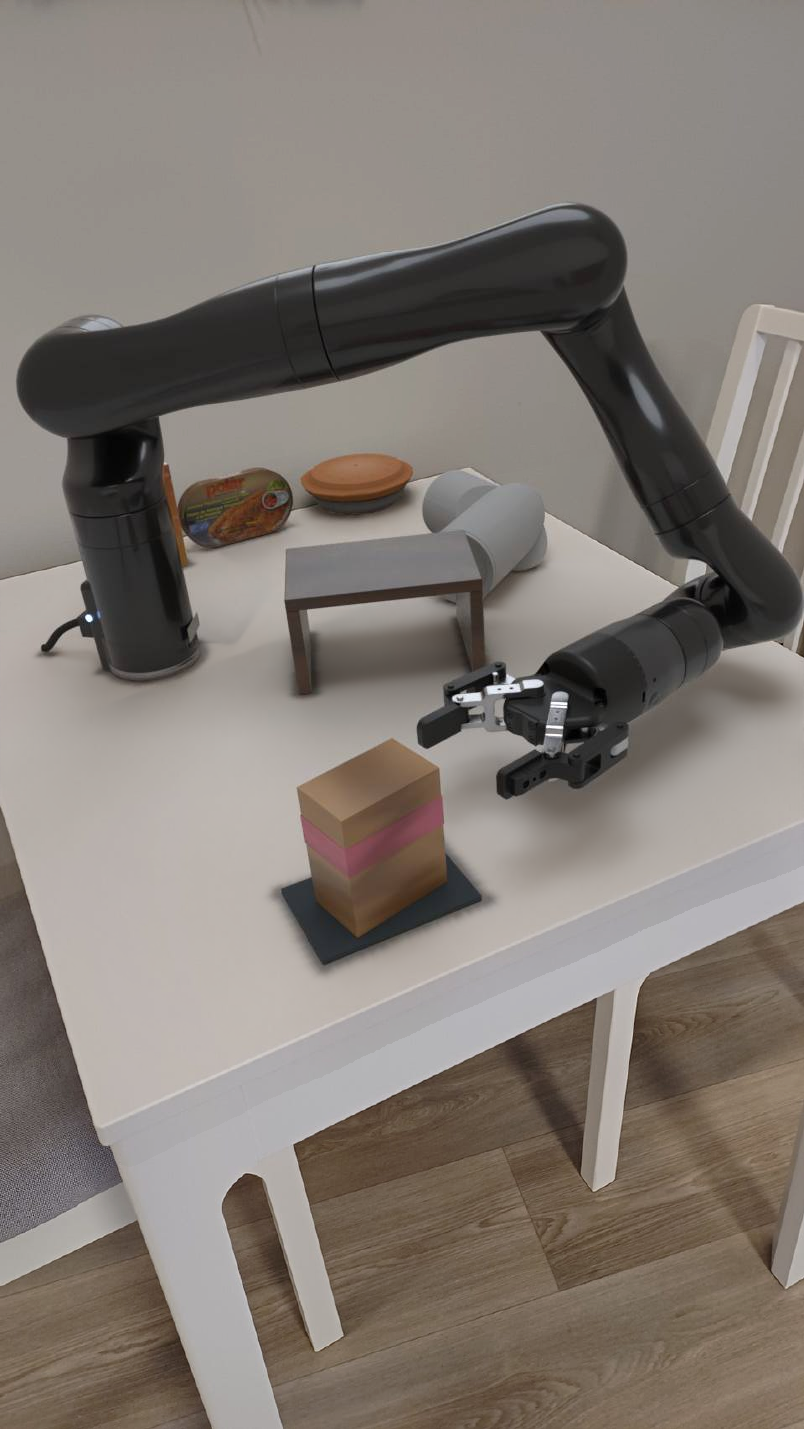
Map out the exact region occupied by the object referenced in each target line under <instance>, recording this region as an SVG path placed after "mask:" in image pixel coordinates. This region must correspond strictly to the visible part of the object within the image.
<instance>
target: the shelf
mask: <svg viewBox="0 0 804 1429" xmlns="http://www.w3.org/2000/svg"><path fill="white" fill-rule="evenodd" d="M284 569H285V571H284V600H283V601H284V606H285V613H286V621H287V626H288V633H289V639H290V640H289V641H290V646H291V652H292V658H293V664H294V665H293V666H294V672H295V677H296V683H297V685H296V686H297V691H298V695H308V694H312V643H311V642H312V641H311V640H312V639H311V629H310V622H309V614H308V611H309V610H315V609H317V610H318V609H327V608H334V607H343V606H344V607H345V606H354V605H364V604H371V603H380V602H381V603H382V602H389V601H390V602H391V601H399V600H409V599H417V598H427V597H436V596H437V597H438V596H441V595H446V594H455V593H456V603H455V606H456V620H457V624H458V627H459V630H460V634H461V637H462V640H463V644H464V647H465V650H466V654H467V658H468V661H469V664H470V667H471V670H472V671H471V672H473V671H475V670H478V669H480V668H482V667H484V666H487V665H486V642H485V641H486V640H485V639H486V638H485V614H484V612H485V611H484V598H483V591H482V590H483V584H482V577H481V574H480V572H479V569H478V566H477V564H476V561H475V558H474V556H473V553H472V550H471V547H470V545H469V542H468V539H467V537H466V534H465V531H464V530H457V531H448V532H438V533H432V532H430V533H421V534H412V535H411V534H410V535H403V536H401V535H400V536H393V537H392V536H391V537H383V538H373V539H366V540H365V539H364V540H356V541H346V542H336V543H327V544H318V545H308V546H299V547H289V548H285V568H284Z"/></svg>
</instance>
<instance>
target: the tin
mask: <svg viewBox="0 0 804 1429" xmlns="http://www.w3.org/2000/svg"><path fill="white" fill-rule="evenodd" d="M293 506H294V496H293V491H292V488H291V486H290V484H289V482H288V480H286V479H285V477H284V476H282V475H281V474H280V473H278V472H276V471H273V470H271V469H268V468H265V467H251V468H247V469H244V470H239V471H235V472H231V473H228V474H223V475H220V476H216V477H211V478H207V479H203V480H199V481H197V482H194V483H192V484H191V485H190V486H188V487H187V488H186V489H185V490H184V492H183V493H182V494H181V496H180V498H179V500H178V503H177V509H178V514H179V519H180V524H181V529H182V532H184V533H185V534H186V536H187V537H188V538H189V539H190V540H191V541H192V542H193V543H194V544H196V545H197V546H201V547H203V548H209V549H214V548H215V549H216V548H220V547H224V546H227V545H231V544H235V543H238V542H241V541H246V540H249V539H253V538H257V537H260V536H264V535H268V534H271V533H273V532H276V531H277V530H279V529H280V528H282V527H283V526H284V524H285V523H287V521H288V519H289V518H290V516H291V514H292V511H293Z"/></svg>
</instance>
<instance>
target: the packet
mask: <svg viewBox="0 0 804 1429" xmlns="http://www.w3.org/2000/svg"><path fill="white" fill-rule="evenodd" d="M296 794H297V798H298V805H299V811H300V816H299V817H300V822H301V829H302V835H303V840H304V844H305V846H306V851H307V852H306V853H307V858H308V864H309V869H310V875H311V877H312V882H313V888H314V894H315V900H316V901H317V902H318V903H319V904H320V905H321V906H322V907H323V908H324V909H326V910H327V911H328V912H329V913H330V914H331V915H332V916H333V917H335V918H336V919H337V920H338V921H339V922H340V923H341V924H342V925H344V926H345V927H346V928H347V929H348V930H349V931H350V932H351V933H353V934H354V935H355V936H356V937H357V938H359V937H360V936H362V935H364V934H365V933H367V932H368V931H370V930H372V929H373V928H375V927H376V926H378V925H379V924H381V923H383V922H384V921H386V920H387V919H389V918H391V917H392V916H394V915H395V914H397V913H399V912H400V911H402V910H403V909H405V908H406V907H408V906H410V905H411V904H413V903H414V902H416V901H418V900H419V899H421V898H422V897H424V896H425V895H427V894H429V893H430V892H432V891H433V890H435V889H437V888H438V887H440V886H441V885H443V884H445V883H446V882H447V870H446V856H445V853H446V844H445V843H446V842H445V831H444V824H445V816H444V802H443V795H442V788H441V775H440V767H438V766H437V765H436V764H434V763H432V762H431V761H429V760H428V759H426V758H425V757H423V756H421V755H420V754H418V753H417V752H415V751H414V750H412V749H410V748H409V747H407V746H406V745H404V744H403V743H401V742H399V741H397V740H396V739H395V738H393V737H391V738H389V739H387V740H385V741H384V742H381V743H379V744H378V745H375V746H374V747H371V748H370V749H368V750H366V751H364V752H362V753H360V754H358V755H356V756H354V757H353V758H350V759H349V760H347V761H344V762H343V763H340V764H338V765H337V766H334V767H333V768H331V769H329V770H327V771H325V772H323V773H321V774H320V775H318V776H315V777H314V778H312V779H310V780H307V781H306V782H304V783H302V784H300V785H297V786H296Z"/></svg>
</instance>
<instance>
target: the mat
mask: <svg viewBox="0 0 804 1429" xmlns="http://www.w3.org/2000/svg"><path fill="white" fill-rule="evenodd" d="M445 856H446V870H447V882H446V883H445V884H443V885H441V886H440V887H438V888H437V889H435V890H433V891H432V892H430V893H429V894H427V895H425V896H424V897H422V898H421V899H419V900H418V901H416V902H414V903H413V904H411V905H410V906H408V907H406V908H405V909H403V910H402V911H400V912H399V913H397V914H395V915H394V916H392V917H391V918H389V919H387V920H386V921H384V922H383V923H381V924H379V925H378V926H376V927H375V928H373V929H372V930H370V931H368V932H367V933H365V934H364V935H362V936H360V937H359V938H357V937H356V936H355V935H354V934H353V933H351V932H350V931H349V930H348V929H347V928H346V927H345V926H344V925H342V924H341V923H340V922H339V921H338V920H337V919H336V918H335V917H333V916H332V915H331V914H330V913H329V912H328V911H327V910H326V909H324V908H323V907H322V906H321V905H320V904H319V903H318V902H317V901H316V900H315V894H314V888H313V882H312V876H311V877H309V878H305V879H303V880H299V881H297V882H294V883H292V884H289V885H287V886H284V887H281V888H280V891H281V894H282V895H283V897H284V899H285V902H286V903H287V904H288V906H289V909H291V911H292V913H293V915H294V916H295V918H296V920H297V922H298V924H299V925H300V927H301V929H302V930H303V932H304V934H305V935H306V938H307V939H308V942H310V944H311V946H312V948H313V949H314V951H315V953H316V955H317V957H318V958H319V960H320V962H321V964H322V965H326V964H328V963H330V962H334V961H336V960H337V959H341V958H344V957H345V956H348V955H350V954H352V953H355V952H357V951H360V950H362V949H365V948H367V947H371V946H373V945H375V944H377V943H379V942H382V941H384V940H387V939H390V938H393V937H394V936H396V935H400V934H401V933H404V932H407V931H410V930H411V929H414V928H417V927H419V926H422V925H424V924H426V923H428V922H430V921H433V920H436V919H438V918H441V917H443V916H446V915H448V914H450V913H453V912H456V911H458V910H460V909H463V908H465V907H468V906H470V905H472V904H475V903H477V902H480V901H482V900H483V898H482V894H480V892H479V891H478V890H477V888H476V887H475V886H474V885H473V883H472V882H471V881H470V880H469V878H467V876H465V874H464V873H463V872H462V870H461V869H460V868H459V866H457V864H456V863H455V862H454V861H453V860H452V859H451V857H450V856H449V855H448V854H447V852H445Z"/></svg>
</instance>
